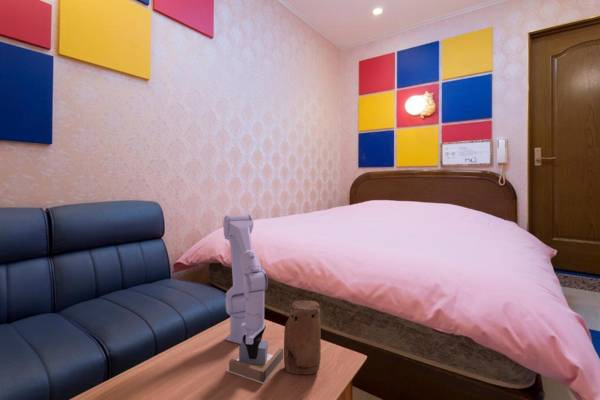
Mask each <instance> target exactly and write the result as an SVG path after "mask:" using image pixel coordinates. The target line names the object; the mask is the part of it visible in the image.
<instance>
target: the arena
mask: <svg viewBox="0 0 600 400" xmlns="http://www.w3.org/2000/svg"><path fill="white" fill-rule="evenodd" d="M283 361H284V348H281V347H279V349H278V350H277V351H276V352H275V353H274V354H270V353H268V356H267V360H266V364H247V363H243V362H240V361H239V357H238V358H237V359H233V358H231V359H230V360H229V361H228V368H227V369H225V371H226V372H228V373H231V374H233V375H236V376H240V377H242V378H245V379H248V380H252V381H254V382H256V383H259V384H263V385H264V384H265V382H266V381H267V380H268V379H269V377H270V376H271V375H272V373H274V372H275V370H276V369H277V367H278V366H279V365H280V364H281V363H282V362H283Z"/></svg>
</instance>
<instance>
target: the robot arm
mask: <svg viewBox="0 0 600 400" xmlns="http://www.w3.org/2000/svg"><path fill="white" fill-rule="evenodd" d="M222 224H223V236H224V239H225V240H227V241H228V243H229V246H230V259H231V262H230V263H231V270H232V271H231V272H232V273H231V274H232V275H231V276H232V286H231V287H230V288H229V289H228V290H227V291H226V293H225V311H226V313H227V314H228V315H229V317H230V318H229V320H230V322H229V325H230V327H229V330H230V332H229V335H227V336H226V337H225V338H224V340H226V341H228V342H232V343H236V344H239V345H240V344H241V342H242V340H243V342H244V344H245V346H246V348H247V351H248V356H249V359H256V357H257V353H258V347H259V344H260V342H261V341H262V340H263V335H264V332H265V331H266V327H267V326H266V324H265V291H266V290H267V289H268V283H269V281H268V275H267V272H266V271H265V269H264V268H262V266H261V263H260V260H259V259H260V258H259V255H258V252H256V251H254V249H253V248H254V247H253V243H252V236H251V234H252V232H253V229H254V218H253V216H252V214H241V215H228V214H225V216H224V217H223V223H222Z"/></svg>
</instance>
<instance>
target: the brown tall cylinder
mask: <svg viewBox="0 0 600 400" xmlns="http://www.w3.org/2000/svg"><path fill="white" fill-rule="evenodd" d="M321 331H322V330H321V310H320V304H319V303H318V302H317V301H315V300H303V299H301V300H295V301H293V303H292V304H291V308H290V311H289V315H288V319H287V320H286V322H285V325H284V331H283V332H284V333H283V334H284V335H283V363H284V369H285V370H286V373H293V374H295V375H312V374H316V373H318V372H319V370H320V367H321V365H320V364H321V357H322V355H321V354H322V353H321V349H322V347H321V346H322V345H321V340H322V339H321V338H322V337H321V336H322V335H321V334H322V333H321Z"/></svg>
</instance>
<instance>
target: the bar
mask: <svg viewBox="0 0 600 400" xmlns="http://www.w3.org/2000/svg"><path fill="white" fill-rule="evenodd" d="M268 342H269V341H268V340H261V342H260V344H259V347H258V353H257V357H256V359H249V356H248V351H247V348H246V346H245V344H244V342H243V340H242V342H241V344H239V347H238V348H239V349H238V351H239V352H238V353H239V354H238V358H239V361H240V362H243V363H247V364H266V360H267V356H268V354H269V353H268V350H269V349H268V344H269V343H268Z"/></svg>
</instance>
